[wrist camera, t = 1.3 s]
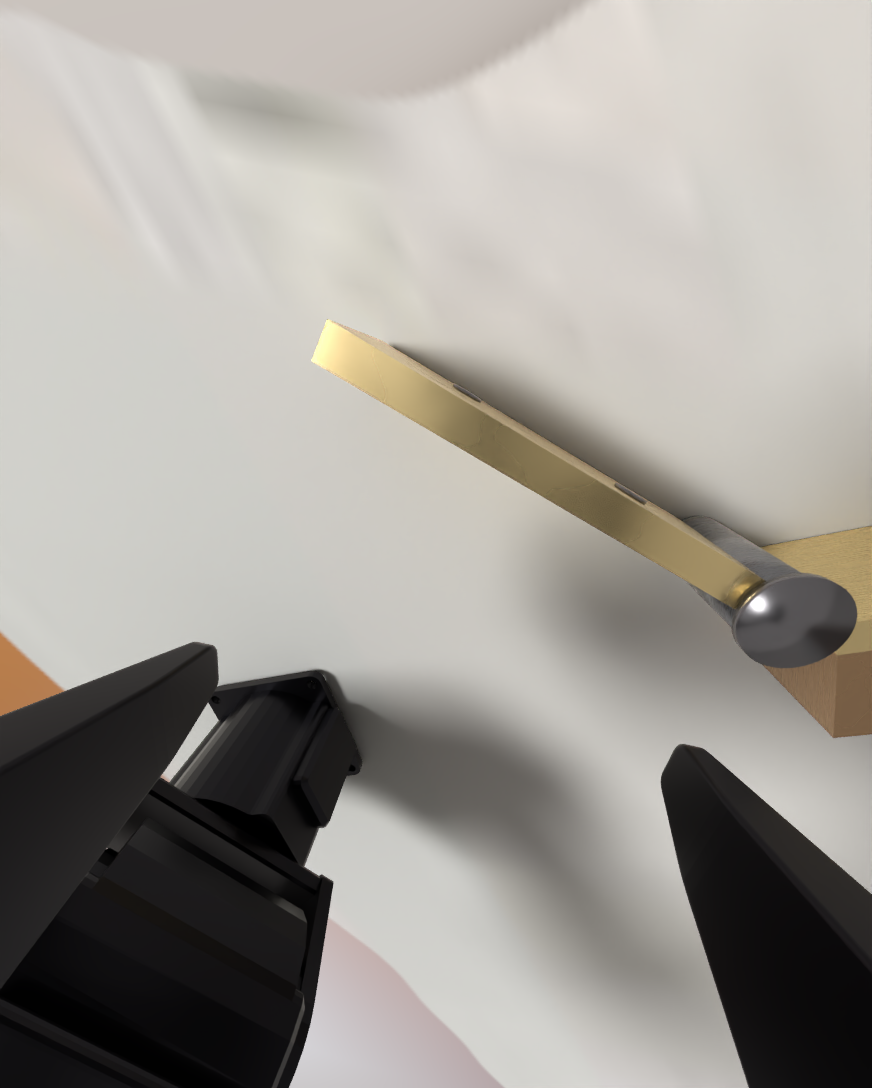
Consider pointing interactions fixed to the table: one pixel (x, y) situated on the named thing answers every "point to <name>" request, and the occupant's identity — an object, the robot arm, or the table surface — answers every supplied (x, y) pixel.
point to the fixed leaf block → (863, 660)
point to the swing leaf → (612, 507)
